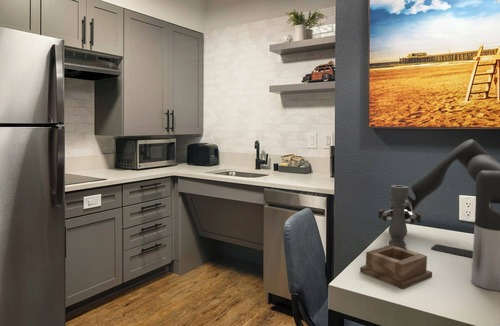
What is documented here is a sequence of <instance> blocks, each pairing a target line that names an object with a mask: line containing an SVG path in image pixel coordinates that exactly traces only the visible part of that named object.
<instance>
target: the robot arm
mask: <svg viewBox="0 0 500 326" xmlns="http://www.w3.org/2000/svg"><path fill="white" fill-rule="evenodd" d="M456 161H458V162H459V164H461V165H462V166H463V167H464V168H465V169H466V170H467V173H468V174H469V176H470V178H471V179H472V180H473V181H474V182H475V210H474V211H475V212H474V230H473V231H474V232H473V245H472V246H473V248H472V251H473V258H471V259H472V260H471V261H472V263H471V273H470V274H471V277H470V278H471V279H470V281H471V283H472V284H473V285H475V286H476V287H480V288H483V289H484V290H485V289H486V290H490V291H495V292H496V291H497V292H500V212H498V211H496V210H495V209H493V208H492V207H491V204H498V205H499V204H500V162H499V161H498V160H497V159H496V158H495V157H493V156H491V155H490V154H489V153H488V152H487V151H486V150H485V149H484V148H483V147H482V146H481V145H480V143H478V142H477V141H476V140H474V139H468V140H465V141H463V142H461V144H459V145H457V146H456V147H455V148H454V149H453V150H452V151H450V153H449V154H447V156H445V157H444V158H443V159H442V160H441V161H440V162H439V163H438V164H436V165H435V166H434V168H433V169H432V170H430V171H429V172H428V173H427V174H425V175H424V176H422V177H421V178H420V179H419V180H417V181H416V182H415V183H413V184H412V185H411V190H412V192H413V194H414V197H415V198H412V197H411V195H410V194H408V197H407V199H406V201H405V203H406V204H407V206H406V207H405V215H404V217H405V222H410V225H413V224H415V223H416V222H417V223H422V212H421V211H416V209H417V207H418V206H419V205H420V203H421V202H422V201H424V200H425V199H426V198H427V197H429V196H430V195H431V194H433V193H434V192H435V191H437V190H438V189H439V188H440V187H441V186H442V184H443V182H444V180H445V177H446V176H447V175H446V174H447V172H448V170H449V168H450V167H451V165H452V164H453V163H454V162H456ZM390 201H391V203H392V202H393V200H392V197H391V198H390ZM414 211H416V212H415V213H413V212H414ZM377 213H378V214H377V215H378V216H377V217H378V219H382V221H384V222H387V221H388V220H390V221H391V219H392V216H393V207H392V205H391V206H390V209H388V210H386V209H385V208H384V207H383V208H380V209H379V210H378V212H377Z"/></svg>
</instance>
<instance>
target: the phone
mask: <svg viewBox="0 0 500 326" xmlns="http://www.w3.org/2000/svg"><path fill="white" fill-rule="evenodd" d="M430 250H432V251H434V252H440V253H444V254H450V255H453V256H460V257H463V258H469V259H473V250H471V249H470V250H469V249H465V248H460V247H454V246H448V245H443V244H439V243H438V244H434V245H432V247H431V248H430Z"/></svg>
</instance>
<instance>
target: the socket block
mask: <svg viewBox="0 0 500 326" xmlns="http://www.w3.org/2000/svg"><path fill="white" fill-rule="evenodd" d="M427 263H428V255H425V254H423V253H420V252H416V251H412V250H409V249H407V250H406V249H403V248H400V247H397V246H393V245H389V244H388V245H386V246H382V247H378V248H375V249H373V250H369V251H366V253H365V265H363V266H360V268H359V273H362V274H365V275H367V276H370V277H371V278H375V279H376V280H379V281H381V282H382V281H383V282H385V283H387V284H389V285H391V286H394V287H396V288H400V289H402V290H404V289H406V288H409V287H411V286H413V285H416V284H418V283H420V282H422V281H425V280H427V279H430V278H432V277H433V271H432V270H431V271H430V270H428V269H427V265H428V264H427Z"/></svg>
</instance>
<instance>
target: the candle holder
mask: <svg viewBox="0 0 500 326" xmlns="http://www.w3.org/2000/svg"><path fill="white" fill-rule="evenodd" d="M408 195H409V186H407V185H399V184H397V185H396V184H392V185H390V196H391V197H392V200H393V202H391V203H390V205H391V206H392V207H393V216H392V219H391V220H390V223H389V227H388V234H389V235H390V238H391V239H390V240H389V241H388V246H389V245H393V246H397V247H400V248H403V249H406V250H408V249H407V247H406V246H407V244H406V242H405V237H406V236H407V235H408V228H407V227H408V226H407V223H406V222H407V221H405V217H404V215H405V207H406V206H407V204H406V203H405V201H406V199H407V197H408Z"/></svg>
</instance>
